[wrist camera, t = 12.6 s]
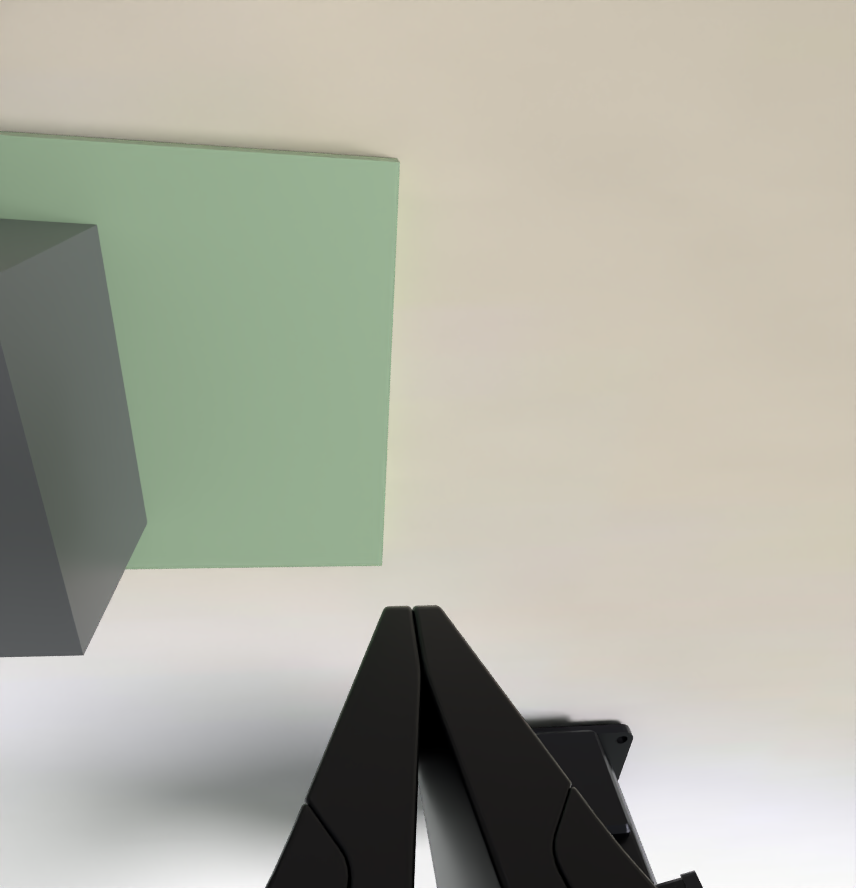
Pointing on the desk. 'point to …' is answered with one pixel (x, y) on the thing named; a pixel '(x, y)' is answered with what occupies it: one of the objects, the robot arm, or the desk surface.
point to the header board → (238, 336)
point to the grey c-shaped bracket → (60, 441)
